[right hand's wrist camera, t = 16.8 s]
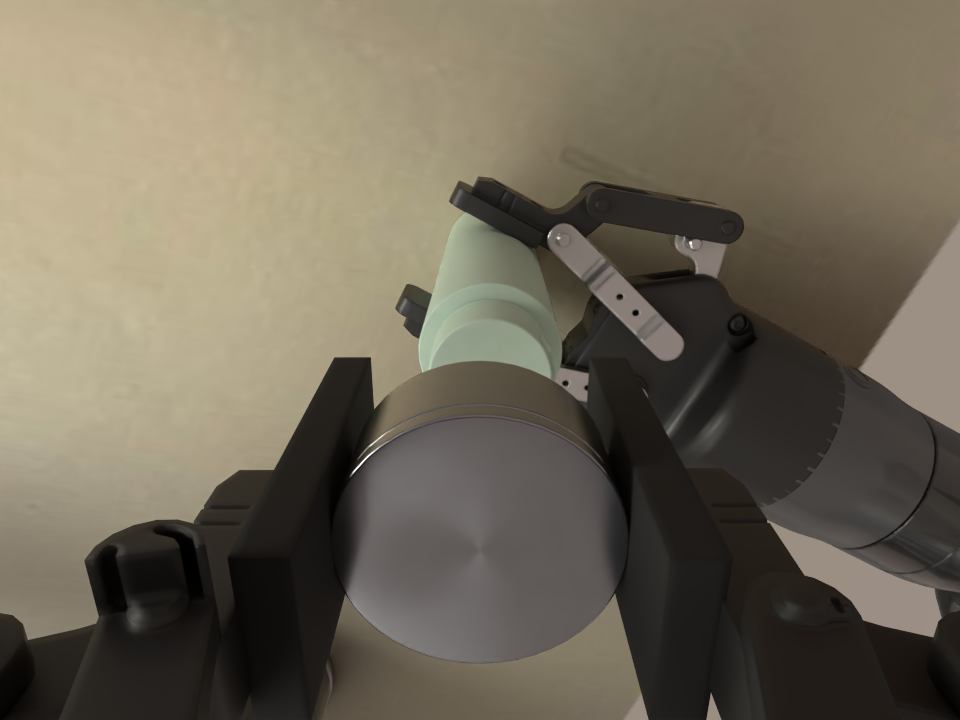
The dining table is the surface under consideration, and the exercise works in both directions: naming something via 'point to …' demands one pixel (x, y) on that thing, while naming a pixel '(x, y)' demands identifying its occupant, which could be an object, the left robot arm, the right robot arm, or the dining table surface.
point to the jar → (490, 304)
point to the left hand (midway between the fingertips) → (429, 245)
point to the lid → (480, 515)
